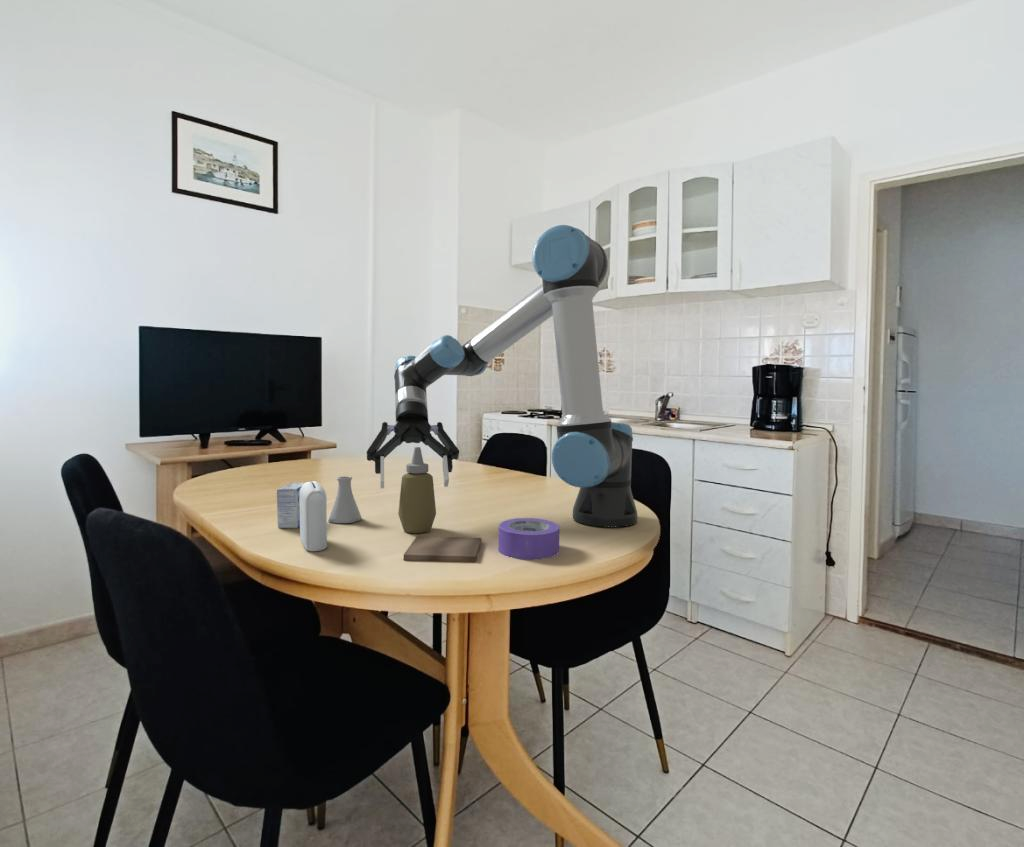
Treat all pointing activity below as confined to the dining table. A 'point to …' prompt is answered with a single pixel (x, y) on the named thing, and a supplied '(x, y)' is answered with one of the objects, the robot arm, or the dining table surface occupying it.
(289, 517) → the medicine box
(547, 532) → the tape roll
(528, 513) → the dining table surface
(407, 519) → the squeeze bottle
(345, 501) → the flask
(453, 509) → the dining table surface
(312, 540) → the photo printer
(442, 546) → the plate
